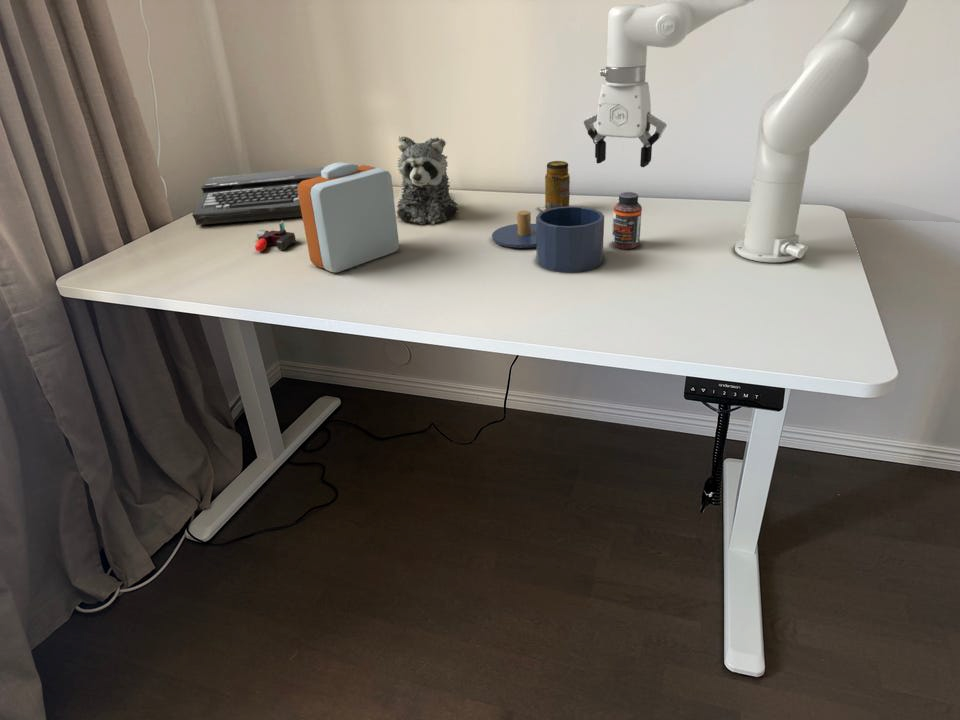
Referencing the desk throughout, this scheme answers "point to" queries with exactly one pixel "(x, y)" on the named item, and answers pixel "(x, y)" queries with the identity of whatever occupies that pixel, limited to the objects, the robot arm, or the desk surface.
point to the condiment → (556, 185)
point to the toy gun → (275, 238)
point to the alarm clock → (348, 215)
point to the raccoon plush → (424, 182)
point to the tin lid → (517, 232)
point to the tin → (569, 239)
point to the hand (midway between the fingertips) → (622, 163)
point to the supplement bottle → (626, 221)
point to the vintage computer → (252, 196)
